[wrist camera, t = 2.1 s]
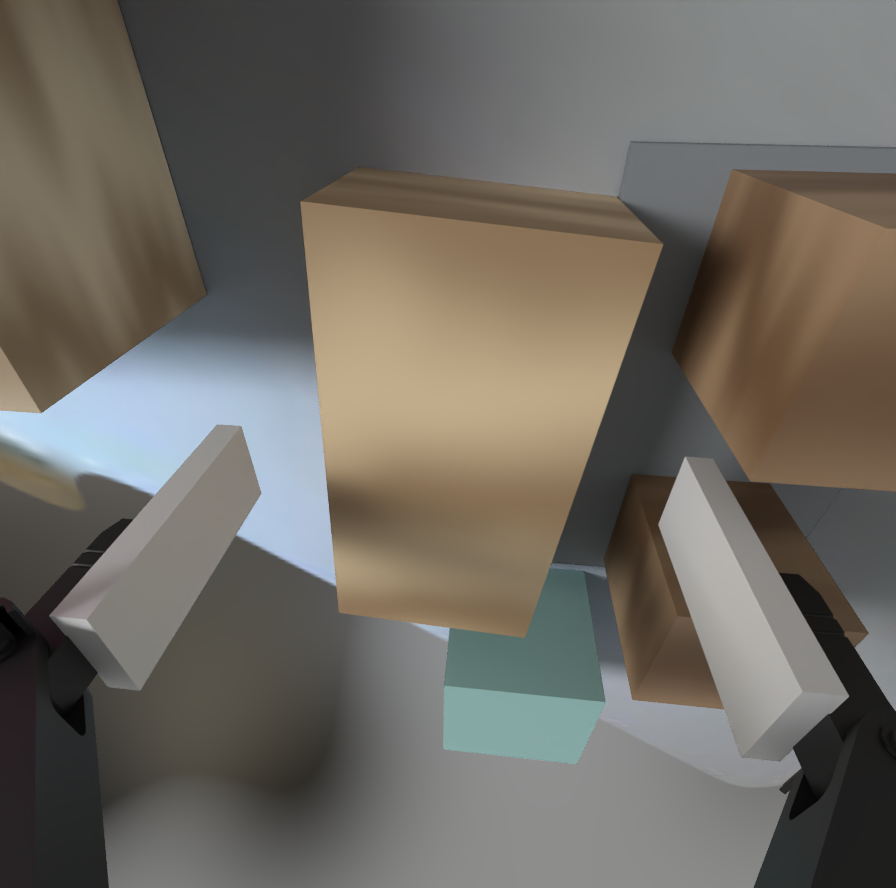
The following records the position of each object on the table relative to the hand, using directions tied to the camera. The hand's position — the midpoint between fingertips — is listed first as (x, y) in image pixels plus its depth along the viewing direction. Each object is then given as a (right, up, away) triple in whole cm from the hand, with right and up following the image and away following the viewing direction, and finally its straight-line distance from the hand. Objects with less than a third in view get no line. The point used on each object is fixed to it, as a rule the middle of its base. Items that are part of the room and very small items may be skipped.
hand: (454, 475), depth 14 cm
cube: (+3, -7, +10) cm, 13 cm away
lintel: (0, +3, +3) cm, 4 cm away
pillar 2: (+9, -2, +5) cm, 11 cm away
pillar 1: (+9, +6, -1) cm, 11 cm away
